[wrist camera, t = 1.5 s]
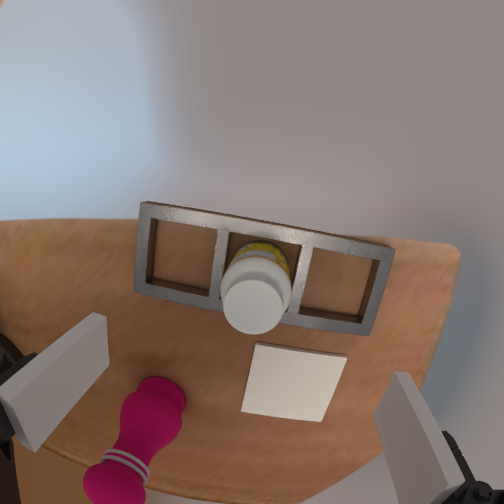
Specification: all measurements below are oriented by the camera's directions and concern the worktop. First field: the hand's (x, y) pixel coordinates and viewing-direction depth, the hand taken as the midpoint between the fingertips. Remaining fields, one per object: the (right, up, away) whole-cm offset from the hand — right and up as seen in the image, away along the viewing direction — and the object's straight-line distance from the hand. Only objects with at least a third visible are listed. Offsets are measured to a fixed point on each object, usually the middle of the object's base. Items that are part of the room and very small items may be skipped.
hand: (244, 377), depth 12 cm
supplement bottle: (+1, +4, +17) cm, 18 cm away
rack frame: (+1, +4, +17) cm, 17 cm away
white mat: (+5, -10, +20) cm, 22 cm away
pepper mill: (-11, -13, +22) cm, 27 cm away
